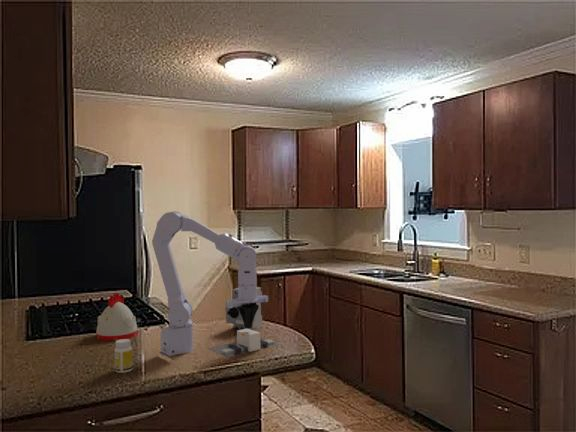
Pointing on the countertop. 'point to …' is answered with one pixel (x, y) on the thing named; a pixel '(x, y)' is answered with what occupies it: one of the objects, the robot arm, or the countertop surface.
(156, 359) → the countertop surface
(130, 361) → the supplement bottle
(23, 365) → the countertop surface
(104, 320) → the kitchen timer
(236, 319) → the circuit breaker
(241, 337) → the block
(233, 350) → the rail board
